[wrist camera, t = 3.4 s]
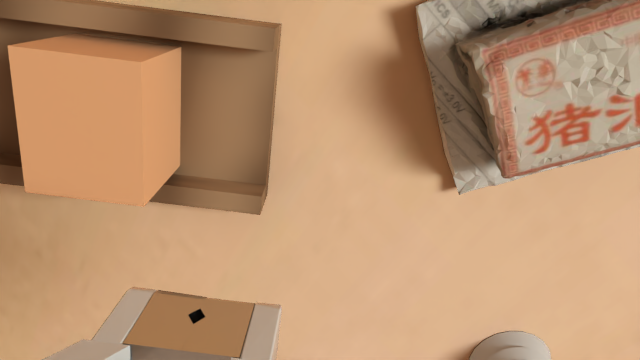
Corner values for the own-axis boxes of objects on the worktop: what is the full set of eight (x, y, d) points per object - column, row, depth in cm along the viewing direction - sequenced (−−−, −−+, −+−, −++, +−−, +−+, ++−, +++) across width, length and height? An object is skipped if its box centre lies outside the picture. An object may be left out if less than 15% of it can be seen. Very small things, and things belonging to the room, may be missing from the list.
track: (-210, 136, 26) (-263, 151, 24) (-266, -46, 23) (-334, -49, 21) (267, 194, 26) (260, 214, 24) (281, 24, 23) (275, 28, 21)
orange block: (83, 153, 25) (25, 192, 20) (75, 33, 23) (7, 45, 18) (180, 165, 25) (144, 206, 20) (181, 46, 23) (140, 62, 18)
